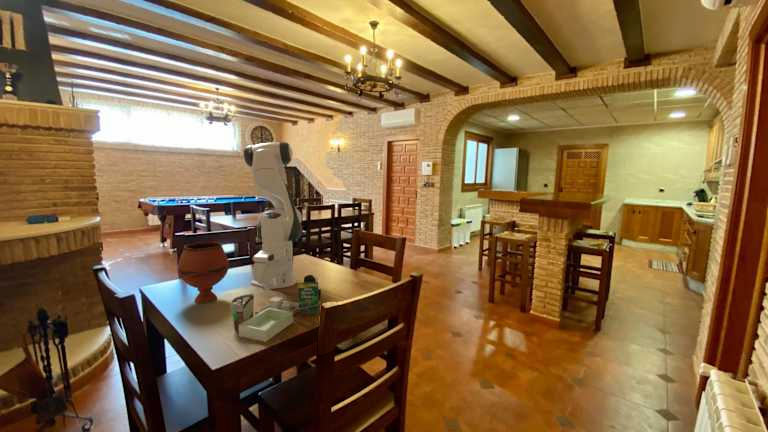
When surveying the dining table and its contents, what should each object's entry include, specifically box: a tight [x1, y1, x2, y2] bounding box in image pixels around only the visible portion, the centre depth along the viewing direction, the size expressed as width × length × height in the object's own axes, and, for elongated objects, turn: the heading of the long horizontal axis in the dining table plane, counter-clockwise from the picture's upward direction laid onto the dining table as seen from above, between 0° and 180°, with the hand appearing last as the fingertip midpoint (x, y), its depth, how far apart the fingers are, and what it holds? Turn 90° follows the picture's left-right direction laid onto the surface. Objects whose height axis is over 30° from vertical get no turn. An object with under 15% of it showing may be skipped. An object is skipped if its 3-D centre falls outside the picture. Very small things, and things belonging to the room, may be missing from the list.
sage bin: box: [238, 308, 294, 343], centre depth 113 cm, size 11×16×4 cm
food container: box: [229, 293, 255, 332], centre depth 115 cm, size 12×6×10 cm, turn 5°
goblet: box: [177, 241, 230, 305], centre depth 137 cm, size 19×19×25 cm
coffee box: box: [297, 281, 320, 316], centre depth 126 cm, size 8×3×13 cm, turn 94°
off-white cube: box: [268, 296, 284, 310], centre depth 129 cm, size 4×4×5 cm
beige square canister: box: [303, 274, 322, 305], centre depth 139 cm, size 7×7×12 cm
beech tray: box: [254, 300, 299, 316], centre depth 129 cm, size 14×14×2 cm
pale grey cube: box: [281, 303, 293, 312], centre depth 128 cm, size 4×4×4 cm
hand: (275, 286), depth 128 cm, fingers open, 8 cm apart
